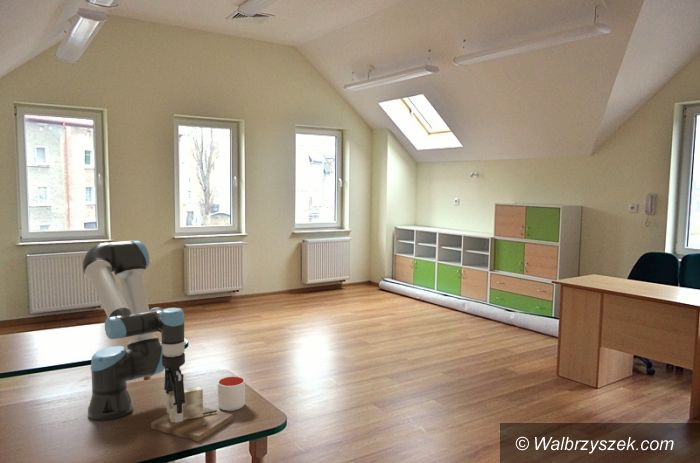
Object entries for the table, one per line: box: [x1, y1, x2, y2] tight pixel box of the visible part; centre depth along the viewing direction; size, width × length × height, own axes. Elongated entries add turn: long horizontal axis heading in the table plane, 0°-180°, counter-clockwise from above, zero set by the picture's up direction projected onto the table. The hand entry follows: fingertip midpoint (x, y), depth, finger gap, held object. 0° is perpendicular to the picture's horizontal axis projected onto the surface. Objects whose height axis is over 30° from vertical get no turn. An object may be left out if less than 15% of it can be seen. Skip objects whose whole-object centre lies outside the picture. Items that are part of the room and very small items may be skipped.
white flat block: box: [168, 386, 218, 422], centre depth 191 cm, size 16×3×10 cm, turn 117°
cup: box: [217, 376, 246, 412], centre depth 205 cm, size 10×10×10 cm
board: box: [150, 406, 234, 443], centre depth 191 cm, size 21×18×2 cm
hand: (174, 416), depth 188 cm, fingers open, 8 cm apart
